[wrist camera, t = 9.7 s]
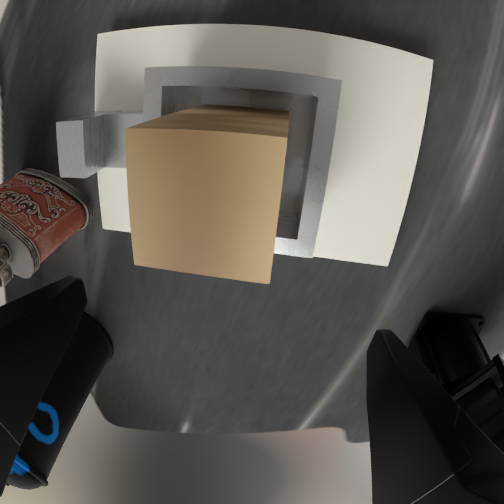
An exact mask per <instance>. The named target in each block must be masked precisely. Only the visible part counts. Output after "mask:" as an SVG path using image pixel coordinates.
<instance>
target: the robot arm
mask: <svg viewBox="0 0 504 504" xmlns="http://www.w3.org/2000/svg"><path fill="white" fill-rule="evenodd" d="M86 304H87V297H86V293H85V288H84V283H83V280H82V279H81V278H79V277H75V276H69V277H66V278H64V279H62V280H59V281H57V282H55V283H52V284H50V285H48V286H45V287H43V288H41V289H38V290H36V291H34V292H32V293H29V294H27V295H25V296H23V297H20V298H18V299H16V300H14V301H12V302H9V303H7V304H5V305H3V306H1V307H0V496H1V495H2V493H3V491H4V488H5V485H6V482H7V479H8V477H9V474H10V471H11V469H12V466H13V463H14V461H15V458H16V456H17V453H18V451H19V448H20V445H21V443H22V441H23V438H24V436H25V434H26V431H27V429H28V427H29V425H30V422H31V420H32V418H33V416H34V413H35V411H36V409H37V407H38V405H39V403H40V401H41V398H42V396H43V394H44V392H45V390H46V388H47V386H48V384H49V382H50V380H51V378H52V376H53V374H54V372H55V370H56V368H57V366H58V365H59V363H60V361H61V359H62V357H63V355H64V353H65V351H66V350H67V348H68V346H69V344H70V341H71V339H72V337H73V335H74V332H75V330H76V328H77V325H78V323H79V321H80V318H81V316H82V314H83V312H84V310H85V307H86ZM430 318H431V319H430ZM484 324H485V319H484V317H483V316H476V315H462V314H449V313H437V312H429V313H427V314H426V315H425V316H424V318H423V320H422V322H421V324H420V326H419V328H418V330H417V332H416V334H415V336H414V337H413V339H412V341H411V343H410V345H409V347H408V348H407V347H406V346H405V345H404V343H403V342H402V341H401V340H400V339H399V338H398V337H397V336H396V335H395V334H394V333H393V332H392V331H391V330H387V329H378V330H377V331H376V332H375V334H374V337H373V339H372V341H371V343H370V345H369V348H368V350H367V412H368V424H369V437H370V449H371V450H370V452H371V470H372V502H373V504H504V361H503V359H502V358H501V357H500V355H499V354H497V355H496V356H495V357H493V359H492V360H491V359H490V357H489V355H488V353H487V351H486V349H485V347H484V345H483V343H482V341H481V339H480V337H479V336H478V334H479V333H480V331H481V329H482V327H483V326H484Z"/></svg>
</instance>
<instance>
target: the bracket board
mask: <svg viewBox="0 0 504 504" xmlns="http://www.w3.org/2000/svg"><path fill="white" fill-rule="evenodd" d="M167 66H214V67H237V68H253V69H265V70H275V71H284V72H293V73H300V74H308V75H314V76H321V77H327V78H333V79H338V80H342V85H341V92H340V100H339V107H338V115H337V122H336V128H335V135H334V142H333V148H332V154H331V161H330V167H329V173H328V179H327V184H326V190H325V196H324V201H323V207H322V212H321V217H320V223H319V228H318V233H317V238H316V243H315V248H314V253H313V256H314V257H321V258H329V259H336V260H344V261H351V262H358V263H366V264H373V265H381V266H388V264H389V261H390V258H391V255H392V251H393V248H394V245H395V242H396V238H397V235H398V232H399V228H400V225H401V221H402V218H403V214H404V211H405V207H406V203H407V199H408V196H409V192H410V188H411V184H412V179H413V175H414V171H415V167H416V162H417V158H418V153H419V148H420V143H421V138H422V133H423V128H424V122H425V117H426V111H427V105H428V98H429V91H430V84H431V77H432V69H433V60H431V59H428V58H425V57H422V56H419V55H416V54H413V53H410V52H406V51H403V50H399V49H396V48H392V47H388V46H385V45H381V44H377V43H373V42H368V41H364V40H359V39H355V38H350V37H345V36H340V35H334V34H328V33H322V32H316V31H309V30H302V29H294V28H284V27H274V26H261V25H244V24H184V25H166V26H154V27H143V28H135V29H127V30H119V31H113V32H106V33H100V34H98V37H97V50H96V69H95V111H112V110H121V112H140V111H143V100H144V75H145V67H167ZM97 176H98V188H99V199H100V209H101V218H102V226H103V229H108V230H116V231H124V232H131V227H130V216H129V203H128V188H127V170H126V168H110V167H105V168H103V169H101V170H100V171H98V172H97Z"/></svg>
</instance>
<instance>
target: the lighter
mask: <svg viewBox="0 0 504 504" xmlns="http://www.w3.org/2000/svg"><path fill="white" fill-rule="evenodd" d="M93 216H94V208H93V204H92V202H91V200H90V199H89V198H88V197H87V196H86V195H85V194H83V193H82V192H81V191H79V190H78V189H77V188H75V187H74V186H72V185H71V184H69V183H67V182H66V181H64V180H62V179H60V178H59V177H57V176H54V175H52V174H49V173H46V172H44V171H40V170H36V169H31V168H26V169H24V170H22V171H20V172H18V173H17V174H16V176H15V177H13V178H11V179H10V180H8V181H6V182H4V183H2V184H0V288H3V287H4V286H5V285H6V284H7V283H8V282H9V281H10V280H11V279H12V278H13V274H15V275H18V276H20V277H22V278H26V279H27V278H29V277H31V276H32V275H33V274H34V273H35V272H36V271H37V270H38V268H39V265H40V263H41V262H42V261H43V260H45V259H46V258H47V257H48V256H49V255H50V254H51V253H52V252H53V251H54V250H56V249H57V248H58V247H59V246H60V245H61V244H62V243H63V242H65V241H66V240H67V239H68V238H69V237H70V236H71V235H73V234H74V233H75V232H76V231H77V230H81V229H83V228H85V227H86V226H87V225H88V224H89V223H90V222H91V221H92V219H93Z"/></svg>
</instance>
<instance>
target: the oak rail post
mask: <svg viewBox="0 0 504 504" xmlns="http://www.w3.org/2000/svg"><path fill="white" fill-rule="evenodd" d="M289 113H290V111H284V110H275V109H265V108H255V107H243V106H228V105H209V104H204V105H200V106H196V107H193V108H189V109H185V110H182V111H178V112H175V113H172V114H168V115H165V116H162V117H158V118H155V119H152V120H149V121H146V122H143V123H140V124H137V125H134V126H131V127H128V128H125V138H126V170H127V188H128V203H129V216H130V227H131V237H132V247H133V256H134V264H135V265H139V266H146V267H152V268H159V269H165V270H172V271H179V272H185V273H192V274H199V275H206V276H213V277H220V278H227V279H235V280H242V281H249V282H257V283H264V284H270V276H271V269H272V261H273V254H274V246H275V239H276V231H277V223H278V215H279V207H280V199H281V191H282V183H283V174H284V166H285V157H286V149H287V140H288V127H289Z"/></svg>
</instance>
